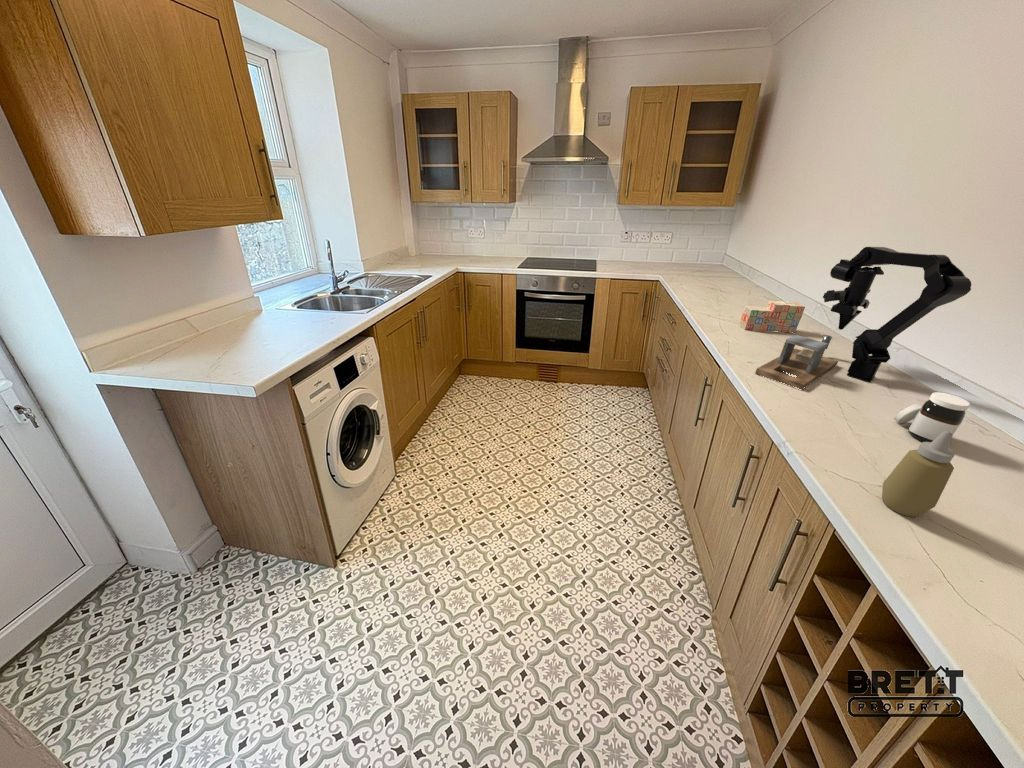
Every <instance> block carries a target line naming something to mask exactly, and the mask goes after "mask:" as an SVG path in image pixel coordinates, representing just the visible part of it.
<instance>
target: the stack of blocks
mask: <svg viewBox="0 0 1024 768" xmlns="http://www.w3.org/2000/svg"><path fill="white" fill-rule="evenodd" d="M805 309H806V306H805V305H803V304H801V303H798V302H794V301H793V302H791V301H786V300H785V301H783V300H782V301H779V300H778V301H777V300H768V302H767V305H766V306H752V305H745V306H744V309H743V312H742V315H741V318H740V321H739V324H738V326H739V327H740V328H741V329H743V330H744V331H755V332H765V331H778V332H777V333H780V332H793V333H795V334H796V331H797V329H798V327H799V324H800V321H801V320H802V317H803V315H804V314H803V313H804V311H805ZM793 333H792V334H793Z"/></svg>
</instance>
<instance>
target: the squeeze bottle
mask: <svg viewBox="0 0 1024 768" xmlns="http://www.w3.org/2000/svg"><path fill="white" fill-rule="evenodd" d="M952 435H953V436H954V434H953V433H951V432H949V431H943V432H942V433H941V434H940V435H939V436H938V437H937V438H936V439H934V440H933V441H932V442H922V441H921V443H920V444H919V446H918V447H917V449H912V450H909V451H907V453H906V454H905V455H904V456H903V458H902V459H901V460H900V461H899V463H898V464H897V465H896V467H894V468H893V470H892V472H891V473H890V474H889V475H888V476H887V477H886V478H885V480H884V481H883V482H882V491H881V499H882V502H883V504H885V506H886V507H888V508H889V509H890V510H892V511H893V512H896V513H898V514H900V515H903V516H906V517H910V518H911V517H913V518H917V517H921V515H923V514H926V512H928V511H930V510H932V509H933V508H935V507H936V505H937V504H938V502H939V500H940V497H941V496H942V494H943V492H944V490H945V488H946V485H947V484H948V482H949V480H950V478H951V475H952V474H953V471H954V469H955V468H954V465H953V464H952V463H951V462H952V460H953V458H954V457H955V455H956V454H955V453H954V451H953V450H951V449H950V446H951V443H952V438H953V436H952Z"/></svg>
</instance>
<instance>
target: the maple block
mask: <svg viewBox="0 0 1024 768" xmlns="http://www.w3.org/2000/svg"><path fill="white" fill-rule="evenodd" d="M813 352H814V350H811V349H808V348H804V347H802V353H801V355H804V356H808V357H812V355H813Z"/></svg>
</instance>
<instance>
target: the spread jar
mask: <svg viewBox="0 0 1024 768" xmlns="http://www.w3.org/2000/svg"><path fill="white" fill-rule="evenodd" d="M970 405H971V403H970V402H969V401H968V400H966V399H964V398H962V397H960V396H957V395H953V394H951V393H946V392H938V391H937V392H932V393H931V395H930V396H929V399H928V400H926V401H925V402H924V403H923V404H922V403H914V404H911V405H910V406H908V407H906V408H904V409H902V410H901V411H899V412H898V413H897V414H896V415H895V416H894V418H893V419H894V420H895V422H896V423H897V424H899V425H901V424H905V423H908V422H911V421H912V422H911V424H910V426H909V428H908V431H907V432H908V434H909V435H910V436H911V437H912V438H914V439H916V440H917V441H920V442H921V443H922V442H932V441H933V440H934V439H936V438H937V437H938V436H939V435H940V434H941V433H942V432H943V431H949V432H951V433H953V435H952V437H953V436H954V434H955V433H956V431H957V430H958V428H959V427H960V425H961V424H962V422H963V420H964V418H965V416H966V411H967V410H968V409H969V407H970Z"/></svg>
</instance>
